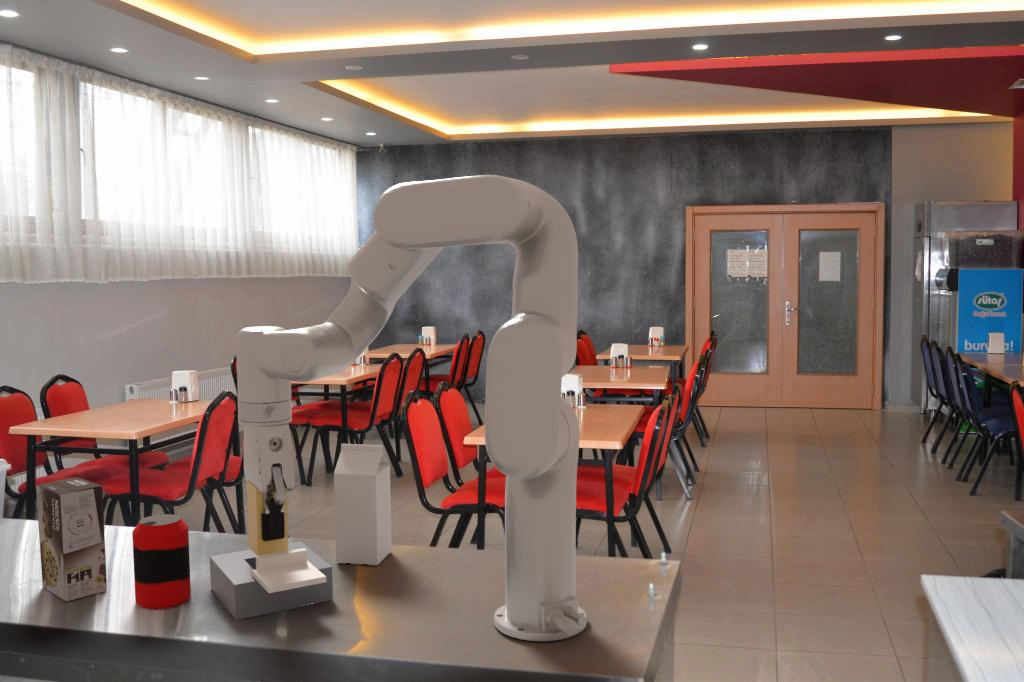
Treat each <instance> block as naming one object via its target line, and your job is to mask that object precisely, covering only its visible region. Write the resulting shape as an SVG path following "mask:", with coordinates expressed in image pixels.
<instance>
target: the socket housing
mask: <svg viewBox="0 0 1024 682" xmlns="http://www.w3.org/2000/svg"><path fill="white" fill-rule="evenodd" d="M301 548H305V549H306V550H307V561H309V562H310V563H311V564H312V565H313V566H314V567H316V568H317V569H318V570H319V571H320V572H321V573H323V574H324V575H325V576H326V582H324V583H319V584H314V585H309V586H304V587H299V588H294V589H289V590H284V591H278V592H273V593H268V592H267V591H266V590H265V589H264V588H263V587H262V586H261V585H260V583H259V582H258V581H257V580H256V579H255V578H254V577H253V576H252V570H255V569H256V556H257V555H256V554H255V553H254V552H253V551H252V550H251V549H247V550H246V549H245V550H239V551H234V552H229V553H228V552H227V553H222V554H215V555H212V556H209V568H210V569H209V571H210V589H211V591H212V592H213V593H214V594H215V596H216V597H217V598H218V599H219V601H220V602H221V604H223V606H224V607H225V608H226V610H227V611H228V613H230V615H231V616H232V617H233V619H234V620H235V621H239V620H243V619H248V618H253V617H258V616H262V615H263V616H264V615H269V614H273V613H277V612H282V611H286V610H287V611H288V610H291V609H296V607H297V608H301V607H300V606H302V607H304V606H303V605H307V604H311V603H317V602H321V603H325V602H324V601H326V602H329V601H328V600H331V601H333V600H334V596H333V595H334V591H333V587H334V585H333V566H332V565H331V564H329V563H328V562H327V561H325V559H324V558H323V557H321V556H320V555H319V554H317V553H316V552H315V551H314V550H312V549H311V548H310V547H309V546H307V545H306V544H305V543H303V542H302V541H301V540H300V541H293V542H288V551H290V550H295V549H301ZM283 552H284V551H283ZM277 553H278V552H277ZM271 554H272V553H271ZM266 555H267V554H266ZM260 556H261V555H260ZM317 604H318V603H317ZM307 606H308V605H307Z"/></svg>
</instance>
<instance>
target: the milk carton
mask: <svg viewBox="0 0 1024 682" xmlns="http://www.w3.org/2000/svg"><path fill="white" fill-rule="evenodd" d="M340 450H341V451H340V453H339V456H338V458H337V462H336V466H335V469H334V471H333V486H334V487H333V489H334V490H333V491H334V495H333V497H334V498H333V499H334V530H335V533H334V534H335V535H334V536H335V537H334V538H335V539H334V540H335V563H336V562H340V563H339V564H346V563H350V565H361V564H368V565H367V566H379V564H380V563H381V562H382V561H383V560H384V559H385V558H386V557H388V556H389V554H391V553H392V550H393V549H392V508H391V507H392V503H391V502H392V501H391V497H392V496H391V464H390V462H389V460H388V458H387V457H386V455H385V453H384V446H383V445H381V444H360V443H359V444H355V443H354V444H353V443H341V445H340ZM370 564H371V565H370Z"/></svg>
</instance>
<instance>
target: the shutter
mask: <svg viewBox="0 0 1024 682" xmlns="http://www.w3.org/2000/svg"><path fill="white" fill-rule="evenodd" d="M252 576H253V577H254V578H255V579H256V580H257V581H258V582H259V583H260V585H261V586H262V587H263V588H264V589H265V590H266V591H267V592H268V593H273V592H278V591H284V590H289V589H294V588H299V587H304V586H309V585H314V584H319V583H324V582H326V576H325V575H324V574H323V573H321V572H320V571H319V570H318V569H317V568H316V567H314V566H313V565H312V564H311V563H310V562H309V561H307V550H306V549H305V548H301V549H295V550H290V551H284V552H278V553H272V554H267V555H261V556H256V569H255V570H252Z"/></svg>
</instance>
